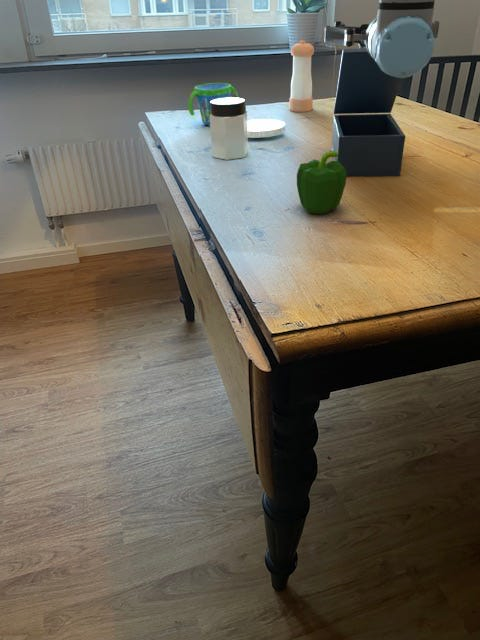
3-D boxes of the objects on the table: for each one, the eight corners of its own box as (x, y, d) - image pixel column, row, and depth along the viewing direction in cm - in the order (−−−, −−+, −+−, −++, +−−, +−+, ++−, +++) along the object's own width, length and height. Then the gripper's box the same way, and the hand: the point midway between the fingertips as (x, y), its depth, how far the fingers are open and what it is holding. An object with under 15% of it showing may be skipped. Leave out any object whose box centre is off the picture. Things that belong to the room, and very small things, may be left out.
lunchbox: (400, 175, 102) (405, 135, 98) (336, 176, 103) (339, 136, 99) (386, 148, 118) (390, 113, 114) (331, 149, 120) (333, 114, 115)
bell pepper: (291, 216, 87) (292, 158, 81) (301, 199, 93) (302, 144, 88) (339, 220, 85) (344, 160, 79) (346, 202, 91) (351, 146, 85)
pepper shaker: (310, 106, 161) (312, 38, 151) (314, 111, 155) (317, 40, 144) (287, 107, 161) (288, 39, 150) (291, 112, 155) (292, 42, 144)
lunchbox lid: (412, 50, 93) (411, 24, 94) (342, 52, 95) (342, 27, 96) (390, 113, 114) (390, 91, 115) (333, 114, 115) (333, 92, 116)
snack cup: (197, 131, 140) (193, 91, 135) (184, 123, 148) (180, 86, 143) (247, 123, 146) (245, 85, 140) (231, 116, 154) (230, 80, 148)
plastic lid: (275, 126, 141) (275, 117, 140) (292, 138, 130) (292, 128, 128) (227, 131, 138) (227, 122, 137) (240, 144, 127) (240, 133, 126)
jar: (242, 148, 124) (240, 95, 117) (253, 156, 118) (252, 101, 111) (207, 152, 122) (203, 99, 115) (217, 161, 115) (213, 106, 109)
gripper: (312, 67, 84) (310, 52, 101) (467, 62, 81) (438, 48, 99) (313, 15, 80) (312, 9, 97) (477, 8, 77) (445, 3, 94)
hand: (375, 28), depth 98 cm, fingers open, 13 cm apart
